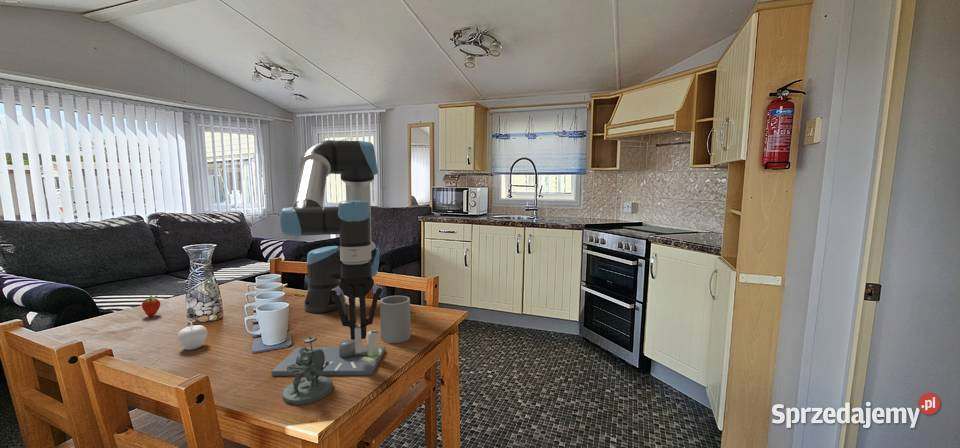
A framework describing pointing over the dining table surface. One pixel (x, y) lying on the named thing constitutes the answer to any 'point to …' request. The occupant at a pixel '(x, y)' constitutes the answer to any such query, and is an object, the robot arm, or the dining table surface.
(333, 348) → the board
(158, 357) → the dining table surface
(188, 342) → the plain white apple
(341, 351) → the grey and white piece
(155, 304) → the fruit
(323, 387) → the figurine
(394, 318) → the cup
